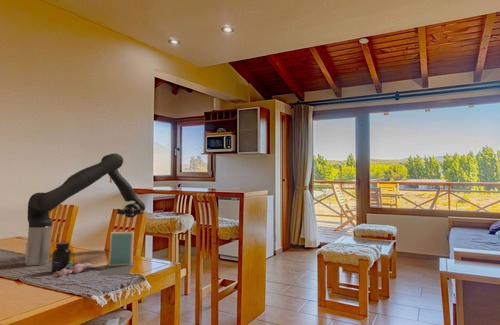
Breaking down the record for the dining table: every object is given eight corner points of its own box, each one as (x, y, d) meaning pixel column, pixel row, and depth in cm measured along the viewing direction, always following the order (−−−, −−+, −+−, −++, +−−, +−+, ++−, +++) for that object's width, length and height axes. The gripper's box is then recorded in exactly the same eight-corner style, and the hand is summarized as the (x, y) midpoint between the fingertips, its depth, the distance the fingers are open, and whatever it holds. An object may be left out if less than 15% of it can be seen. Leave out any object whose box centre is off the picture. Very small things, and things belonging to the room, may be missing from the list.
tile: (109, 264, 146) (111, 232, 148) (132, 264, 148) (133, 231, 150) (108, 265, 144) (110, 232, 145) (131, 265, 146) (133, 232, 148)
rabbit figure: (57, 282, 124) (96, 269, 135) (55, 267, 124) (95, 256, 135) (52, 279, 129) (91, 267, 140) (51, 264, 128) (89, 253, 139)
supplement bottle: (50, 274, 130) (52, 245, 131) (51, 270, 136) (54, 242, 137) (69, 272, 133) (71, 244, 134) (70, 268, 139) (72, 241, 141)
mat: (108, 264, 149) (108, 262, 149) (135, 263, 152) (135, 262, 152) (96, 277, 128) (97, 275, 128) (128, 275, 131) (128, 274, 131)
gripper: (118, 203, 174) (112, 204, 157) (145, 203, 177) (141, 205, 160) (118, 216, 173) (111, 220, 156) (144, 217, 176) (141, 220, 159)
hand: (126, 212), depth 158 cm, fingers open, 3 cm apart
